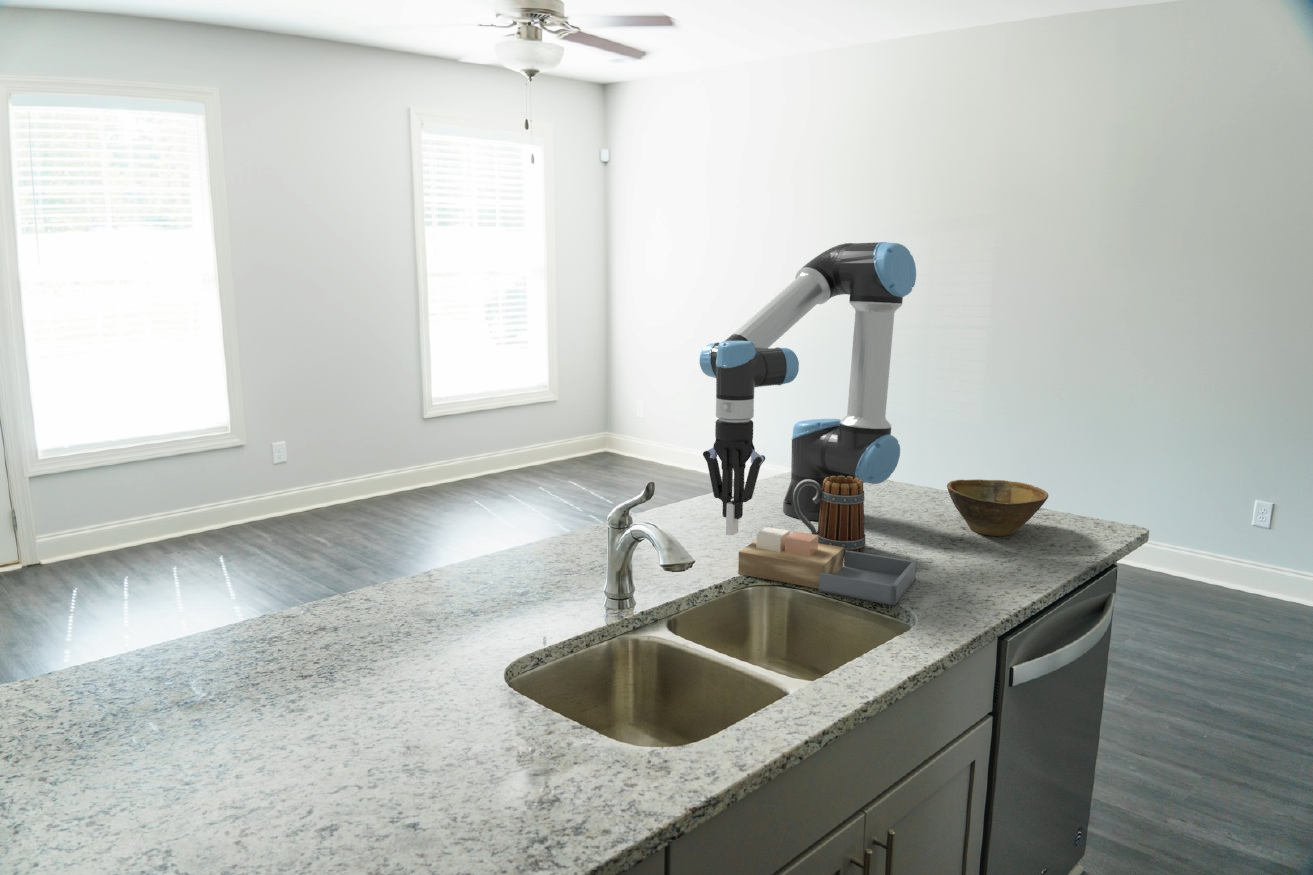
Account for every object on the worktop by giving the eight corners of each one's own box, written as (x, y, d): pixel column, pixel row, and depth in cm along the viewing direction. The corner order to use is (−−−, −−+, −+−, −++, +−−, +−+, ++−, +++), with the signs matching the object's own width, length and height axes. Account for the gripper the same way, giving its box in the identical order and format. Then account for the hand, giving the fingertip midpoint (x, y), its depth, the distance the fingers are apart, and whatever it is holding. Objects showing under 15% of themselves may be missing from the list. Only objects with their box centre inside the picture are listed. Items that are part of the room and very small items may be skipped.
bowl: (1053, 526, 207) (1056, 484, 205) (1035, 552, 188) (1039, 506, 186) (957, 512, 218) (960, 472, 217) (931, 535, 200) (934, 492, 198)
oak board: (763, 555, 185) (764, 534, 184) (842, 568, 177) (843, 547, 176) (738, 573, 174) (738, 551, 173) (821, 589, 166) (822, 566, 165)
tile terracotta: (793, 545, 177) (794, 531, 176) (817, 549, 174) (818, 535, 174) (784, 552, 173) (785, 537, 172) (809, 556, 170) (809, 541, 170)
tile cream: (765, 541, 180) (766, 527, 179) (789, 544, 177) (789, 530, 177) (756, 547, 175) (756, 533, 175) (779, 551, 173) (780, 537, 172)
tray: (845, 566, 178) (845, 550, 177) (915, 578, 171) (916, 561, 171) (818, 591, 164) (819, 573, 164) (894, 605, 158) (895, 586, 157)
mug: (862, 541, 195) (865, 475, 192) (868, 556, 185) (872, 486, 182) (790, 538, 196) (792, 473, 194) (792, 553, 186) (795, 484, 183)
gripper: (696, 419, 176) (695, 533, 180) (757, 424, 170) (754, 542, 174) (713, 413, 182) (711, 524, 187) (772, 419, 176) (768, 533, 180)
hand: (732, 533), depth 180 cm, fingers closed
